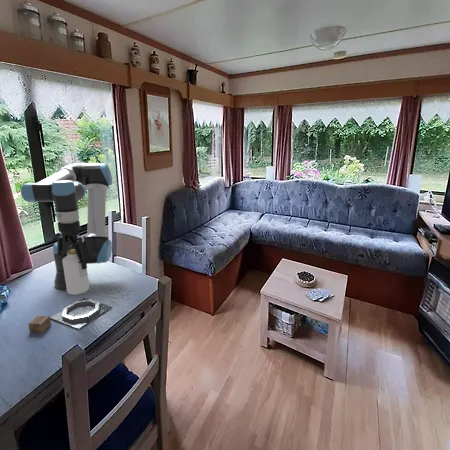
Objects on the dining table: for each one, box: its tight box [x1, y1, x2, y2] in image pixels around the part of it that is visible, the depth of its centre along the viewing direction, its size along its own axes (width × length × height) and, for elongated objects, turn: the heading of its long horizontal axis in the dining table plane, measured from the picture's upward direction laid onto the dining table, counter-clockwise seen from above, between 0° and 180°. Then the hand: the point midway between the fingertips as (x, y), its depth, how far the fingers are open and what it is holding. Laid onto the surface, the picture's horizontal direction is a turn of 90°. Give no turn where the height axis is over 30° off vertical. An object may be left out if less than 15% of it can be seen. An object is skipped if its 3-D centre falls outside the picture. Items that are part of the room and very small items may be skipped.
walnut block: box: [27, 315, 52, 333], centre depth 108 cm, size 5×5×4 cm
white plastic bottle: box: [62, 249, 90, 296], centre depth 113 cm, size 8×8×18 cm
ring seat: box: [49, 297, 113, 331], centre depth 118 cm, size 17×17×2 cm
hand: (76, 273), depth 113 cm, fingers closed on white plastic bottle, 8 cm apart
